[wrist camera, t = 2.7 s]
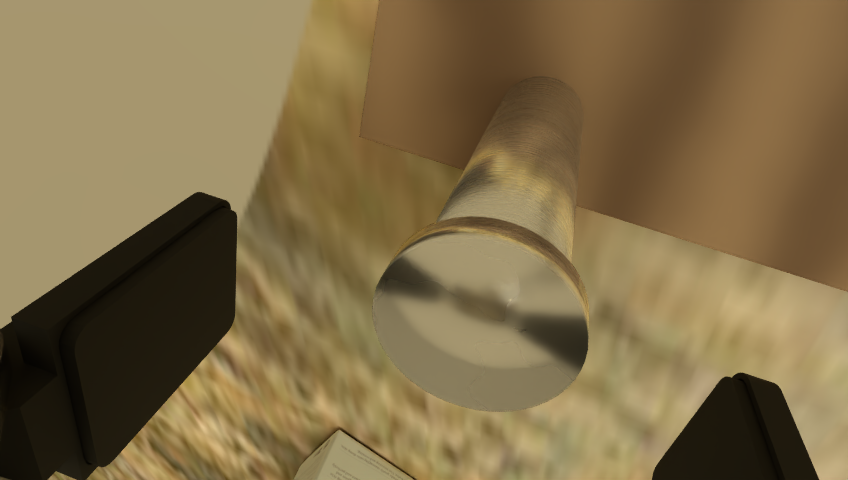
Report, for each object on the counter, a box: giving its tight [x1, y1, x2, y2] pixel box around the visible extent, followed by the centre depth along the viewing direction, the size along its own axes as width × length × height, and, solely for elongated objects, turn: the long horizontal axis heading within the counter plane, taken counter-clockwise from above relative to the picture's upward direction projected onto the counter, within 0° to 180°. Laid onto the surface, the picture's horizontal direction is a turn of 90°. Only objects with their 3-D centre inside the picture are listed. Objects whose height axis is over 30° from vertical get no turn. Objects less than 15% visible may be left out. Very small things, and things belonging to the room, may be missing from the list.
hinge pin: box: [372, 76, 589, 412], centre depth 15 cm, size 4×4×13 cm
